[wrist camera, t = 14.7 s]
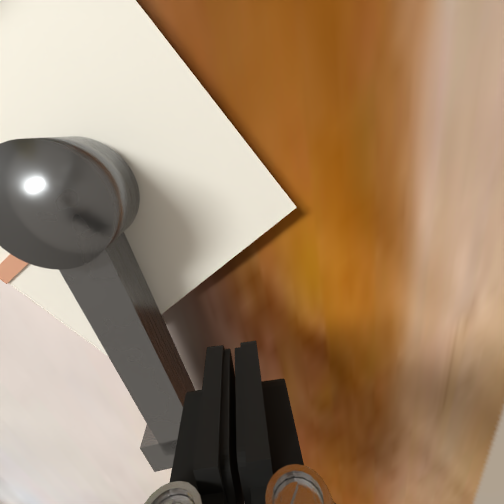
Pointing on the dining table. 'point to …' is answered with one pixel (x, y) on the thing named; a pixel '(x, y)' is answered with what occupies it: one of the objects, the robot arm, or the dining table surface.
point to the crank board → (132, 143)
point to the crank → (96, 265)
